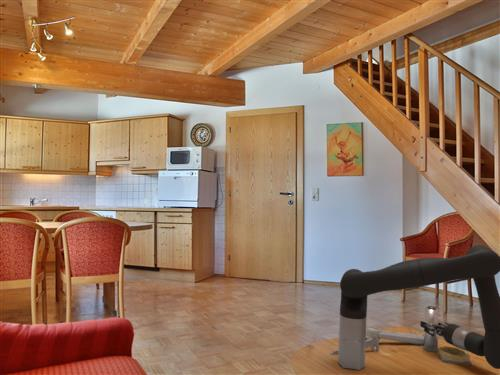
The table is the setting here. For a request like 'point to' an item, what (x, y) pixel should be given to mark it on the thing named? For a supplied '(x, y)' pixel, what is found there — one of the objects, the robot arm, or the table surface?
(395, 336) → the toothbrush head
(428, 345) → the grey bottle
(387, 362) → the table surface
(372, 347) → the caliper
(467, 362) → the ring block
